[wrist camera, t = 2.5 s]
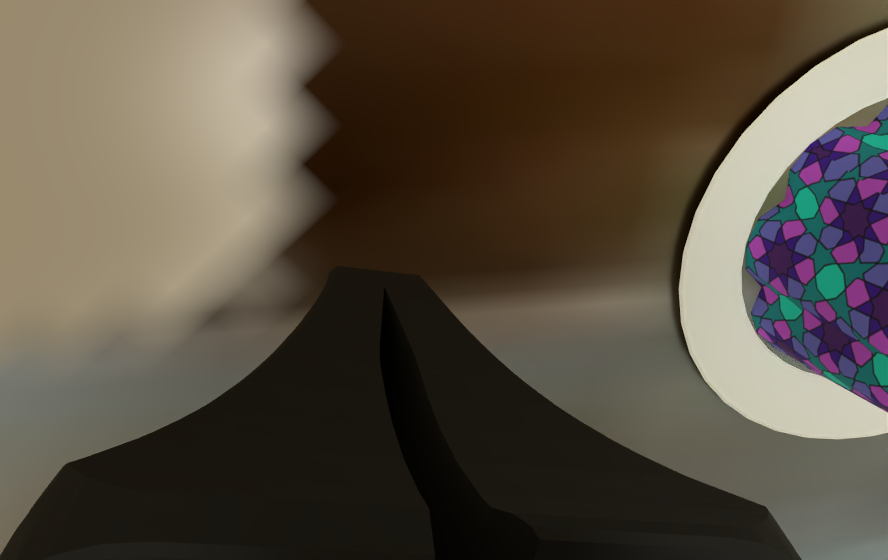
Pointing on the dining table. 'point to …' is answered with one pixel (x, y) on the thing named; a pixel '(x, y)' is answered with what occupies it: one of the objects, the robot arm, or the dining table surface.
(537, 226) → the dining table surface
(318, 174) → the dining table surface
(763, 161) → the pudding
